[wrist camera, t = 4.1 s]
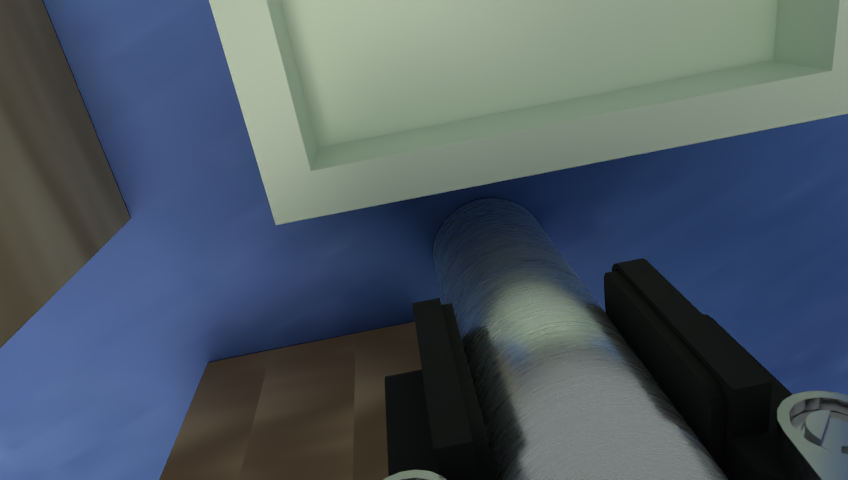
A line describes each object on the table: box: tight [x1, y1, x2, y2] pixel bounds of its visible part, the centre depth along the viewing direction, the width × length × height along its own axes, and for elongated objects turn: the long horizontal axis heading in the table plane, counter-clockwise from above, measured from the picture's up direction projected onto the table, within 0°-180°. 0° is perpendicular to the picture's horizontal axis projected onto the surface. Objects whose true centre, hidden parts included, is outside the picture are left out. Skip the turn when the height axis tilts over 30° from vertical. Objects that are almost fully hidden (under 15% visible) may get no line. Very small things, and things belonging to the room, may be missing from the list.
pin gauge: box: [433, 198, 729, 480], centre depth 11 cm, size 3×3×10 cm
